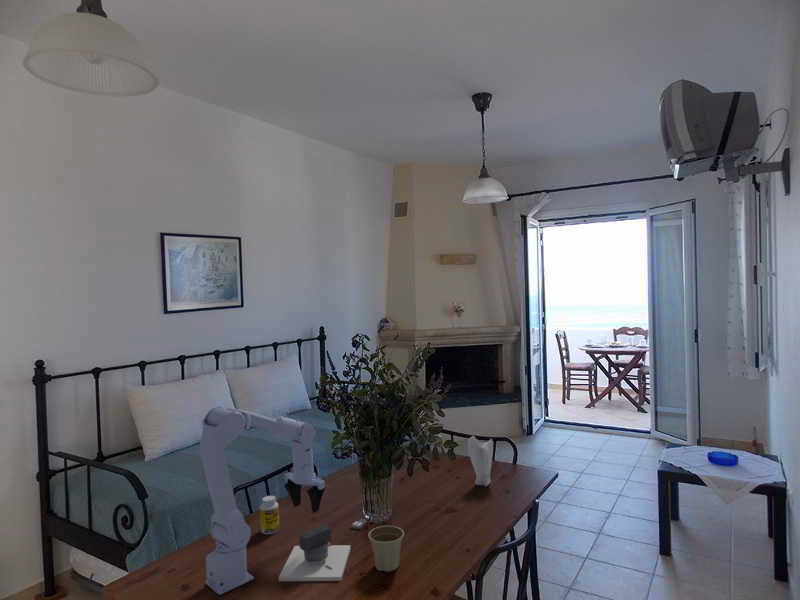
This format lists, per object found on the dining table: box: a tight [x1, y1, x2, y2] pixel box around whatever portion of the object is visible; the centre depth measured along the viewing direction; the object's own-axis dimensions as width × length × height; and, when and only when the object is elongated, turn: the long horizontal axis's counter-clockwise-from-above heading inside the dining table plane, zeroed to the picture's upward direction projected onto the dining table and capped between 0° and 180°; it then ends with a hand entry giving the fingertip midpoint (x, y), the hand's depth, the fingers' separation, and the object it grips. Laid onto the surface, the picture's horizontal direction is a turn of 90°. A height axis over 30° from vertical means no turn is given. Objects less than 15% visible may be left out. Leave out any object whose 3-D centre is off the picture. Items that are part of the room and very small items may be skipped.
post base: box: [278, 544, 352, 582], centre depth 138 cm, size 16×16×2 cm
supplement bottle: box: [259, 495, 280, 535], centre depth 158 cm, size 6×6×10 cm
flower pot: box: [367, 525, 405, 573], centre depth 135 cm, size 9×9×9 cm
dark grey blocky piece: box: [299, 524, 332, 562], centre depth 138 cm, size 8×6×6 cm
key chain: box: [349, 518, 368, 530], centre depth 163 cm, size 13×4×2 cm, turn 154°
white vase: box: [467, 435, 494, 487], centre depth 189 cm, size 8×8×18 cm
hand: (306, 508), depth 150 cm, fingers open, 7 cm apart
